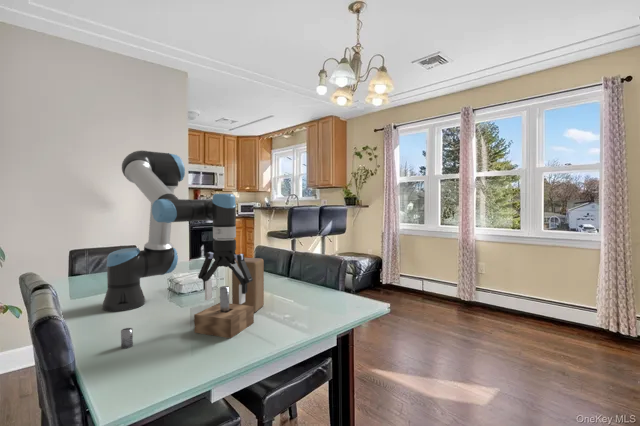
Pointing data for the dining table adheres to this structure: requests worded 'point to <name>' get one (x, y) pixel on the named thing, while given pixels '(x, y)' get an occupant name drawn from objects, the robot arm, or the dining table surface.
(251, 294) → the wooden block
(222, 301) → the long pin
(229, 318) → the socket block
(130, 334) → the short pin
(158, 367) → the dining table surface
